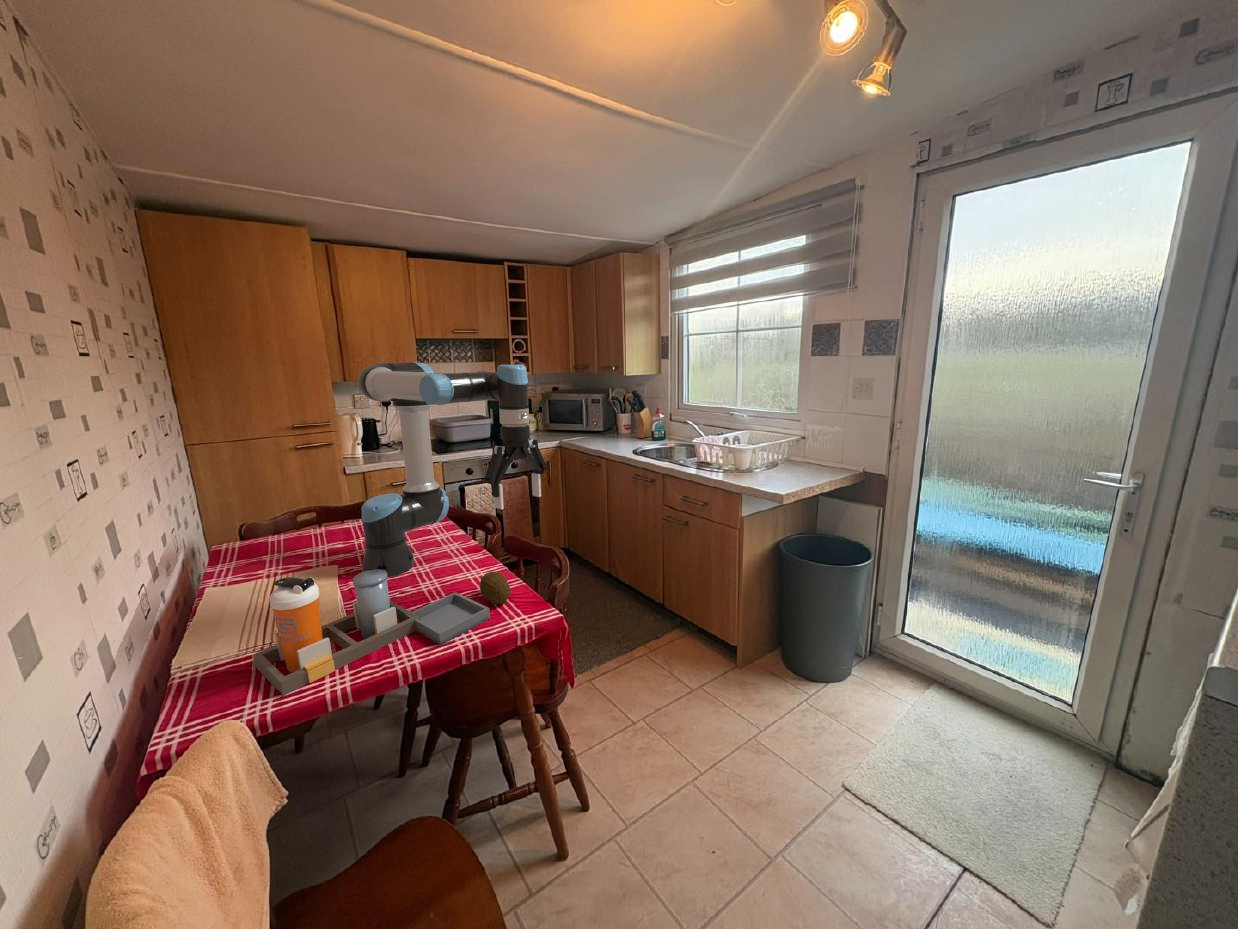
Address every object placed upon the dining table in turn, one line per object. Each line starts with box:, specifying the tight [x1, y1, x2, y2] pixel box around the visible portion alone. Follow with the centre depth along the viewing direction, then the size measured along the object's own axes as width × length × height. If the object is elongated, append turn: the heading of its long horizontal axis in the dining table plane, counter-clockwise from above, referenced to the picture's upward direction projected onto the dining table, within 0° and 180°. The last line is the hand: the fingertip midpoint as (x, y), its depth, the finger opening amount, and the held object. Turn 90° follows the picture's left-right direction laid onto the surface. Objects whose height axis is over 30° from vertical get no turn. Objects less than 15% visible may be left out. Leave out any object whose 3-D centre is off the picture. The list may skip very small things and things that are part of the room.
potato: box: [479, 571, 511, 605], centre depth 134 cm, size 8×12×8 cm, turn 42°
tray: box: [406, 591, 491, 646], centre depth 123 cm, size 15×15×3 cm
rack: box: [252, 599, 420, 696], centre depth 112 cm, size 16×30×7 cm, turn 144°
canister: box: [352, 570, 390, 639], centre depth 118 cm, size 7×7×15 cm
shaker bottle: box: [269, 576, 323, 673], centre depth 105 cm, size 9×9×20 cm
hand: (518, 502), depth 131 cm, fingers open, 13 cm apart
